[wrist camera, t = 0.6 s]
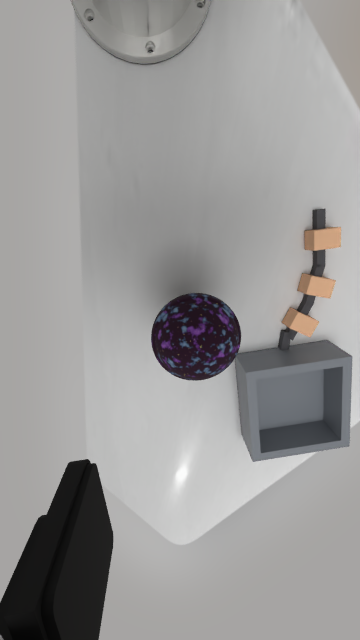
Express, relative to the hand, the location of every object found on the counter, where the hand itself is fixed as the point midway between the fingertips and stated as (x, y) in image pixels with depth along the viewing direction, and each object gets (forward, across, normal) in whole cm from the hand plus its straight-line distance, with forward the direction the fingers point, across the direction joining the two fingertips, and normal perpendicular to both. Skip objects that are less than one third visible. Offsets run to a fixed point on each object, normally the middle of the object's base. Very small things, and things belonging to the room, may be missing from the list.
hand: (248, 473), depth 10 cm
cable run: (+26, -14, -1) cm, 30 cm away
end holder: (+27, -11, +13) cm, 32 cm away
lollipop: (+26, 0, 0) cm, 27 cm away
